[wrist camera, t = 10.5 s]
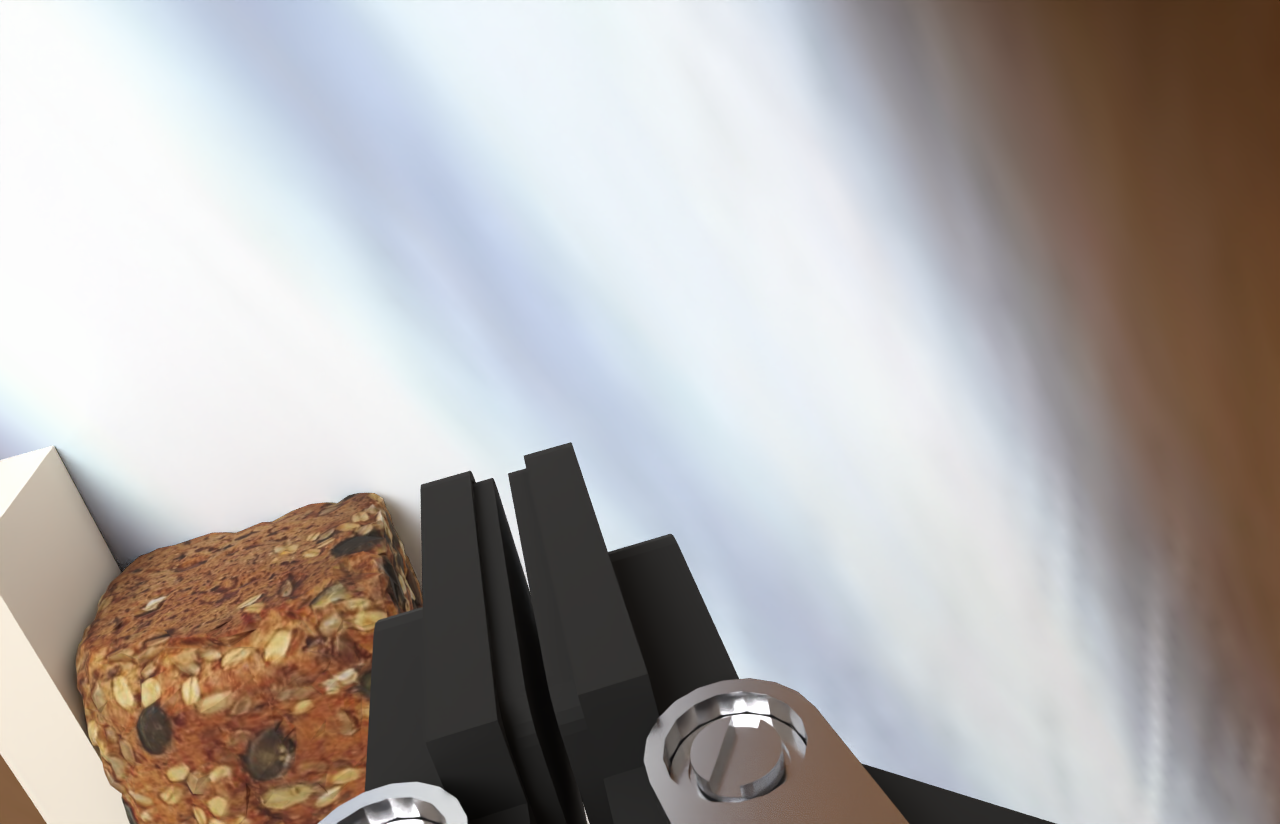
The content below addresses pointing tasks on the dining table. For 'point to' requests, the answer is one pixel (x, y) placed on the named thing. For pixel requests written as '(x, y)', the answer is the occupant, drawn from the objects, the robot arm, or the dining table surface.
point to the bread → (245, 667)
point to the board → (50, 639)
